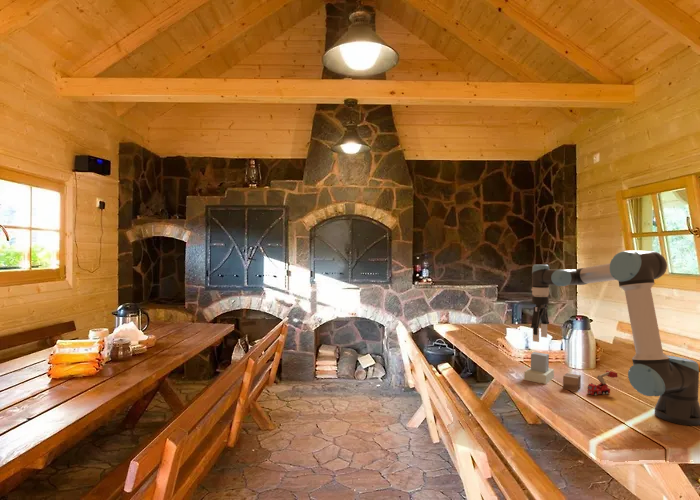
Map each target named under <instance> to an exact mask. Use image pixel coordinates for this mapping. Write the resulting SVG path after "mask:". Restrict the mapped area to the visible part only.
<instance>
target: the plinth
mask: <svg viewBox="0 0 700 500" xmlns="http://www.w3.org/2000/svg"><path fill="white" fill-rule="evenodd" d="M523 373H524V376H523V379H524V381H528V382H529V381H530V382H534V383H539V384H544V385H547V383H549V382H550V381H551V380H553V378H554V377H555V369H554V368H550V367H549V370H548V371H547V372H546V373H545V372H539V371H533V370H531V367H529V368H528V369H526V370H525V371H524V372H523Z"/></svg>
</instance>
